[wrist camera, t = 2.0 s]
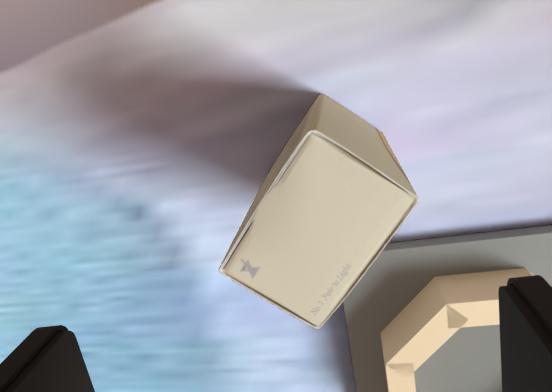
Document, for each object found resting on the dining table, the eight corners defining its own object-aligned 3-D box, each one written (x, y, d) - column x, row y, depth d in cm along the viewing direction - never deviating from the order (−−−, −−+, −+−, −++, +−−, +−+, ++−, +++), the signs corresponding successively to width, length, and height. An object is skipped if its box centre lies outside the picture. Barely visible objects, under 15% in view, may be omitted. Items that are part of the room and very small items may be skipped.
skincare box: (324, 216, 28) (318, 339, 17) (261, 177, 28) (211, 276, 17) (386, 128, 26) (428, 202, 15) (319, 85, 26) (309, 126, 15)
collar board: (623, 217, 26) (671, 247, 23) (611, 441, 31) (650, 497, 27) (336, 248, 29) (336, 281, 25) (366, 452, 34) (370, 504, 30)
